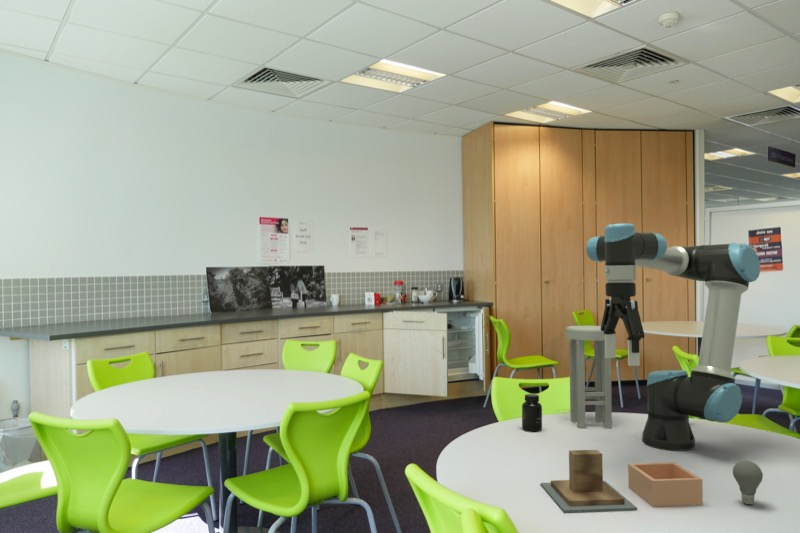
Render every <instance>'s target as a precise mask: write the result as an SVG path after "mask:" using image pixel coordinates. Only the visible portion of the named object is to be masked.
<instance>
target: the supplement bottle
mask: <svg viewBox="0 0 800 533" xmlns="http://www.w3.org/2000/svg"><path fill="white" fill-rule="evenodd" d="M539 395H540V394H535V393H526V394H524V401H525V402H523V403H522V405H521V428H522V430H524V431H525V432H530V433H538V432H541V431H542V430H543V407H542V406H543V405H542V403H540V396H539Z"/></svg>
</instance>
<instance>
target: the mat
mask: <svg viewBox="0 0 800 533" xmlns="http://www.w3.org/2000/svg"><path fill="white" fill-rule="evenodd" d="M603 481H604V482H605V483H606V484H607V485H608V486H610V487H611V488H612V489H613V490H614V491H615V492H617V493H618V494H619V495H620V496H621V497H622V498H624V500H625V504H622V505H593V506H569V505H568V504H567V503H566V502H565V501H564V500H563V498H562V497H561V496H560V495H559V494H558V493H557V492H556V491H555V490H554V488H553V487H552V486H551V482H540V486H541V488H542V489H543V490H544V491H545V493H546V494H547V495H548V496H549V497H550V498H551V499H552V500H553V502H554V503H555V504H556V505H557V506H558V507H559V509H560V510H561V511H562V512H563V513H564V514H569V513H572V514H575V513H598V512H600V513H601V512H605V513H606V512H624V511H625V512H627V511H628V512H629V511H631V512H633V511H638V507H637V506H636V505H634V503H633V502H631V501H630V500H628V499H627V498H626V497H625V496H624V495H623V494H622V493H620V492H619V491H618V490H616V489H615V488H614V487H613V486H612V485H611V484H609V483H608V482H607V481H606V480H603Z"/></svg>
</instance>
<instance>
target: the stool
mask: <svg viewBox="0 0 800 533" xmlns="http://www.w3.org/2000/svg"><path fill="white" fill-rule="evenodd" d="M565 338H566V339H569V340H568V341H569V342H568V343H569V345H568V346H569V404H570V405H569V407H570V408H569V410H570V411H569V412H570V417H569V418H570V422H572V423H577V424H576V425H577V428H578V429H581V430H582V429H586V405H587V406H588V405H589V406H594V408H595V409H594V416H595V419H594V420H595V422H597V423H603V424H602V426H603V428H604V429H607V430H608V429H609V430H610V429H611V430H612V429H613V421H612V419H613V417H612V416H613V411H612V358H605V334H604V332H603V331H601V325H569V326H566V329H565ZM585 341H590V342H591V341H594V342H593V343H594V344H593V345H594V346H593V349H594V354H593V355H594V360H593V361H594V387H593V386H586V379H585V378H586V377H585V376H586V371H585V368H586V367H585V366H586V365H585V359H586V358H585Z"/></svg>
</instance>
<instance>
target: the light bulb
mask: <svg viewBox="0 0 800 533" xmlns="http://www.w3.org/2000/svg"><path fill="white" fill-rule="evenodd" d="M732 475H733V478H734V479H735V482H736V483H737V485H738V488H739V491H740V492H741V502H742V503H744V504H745V503H746V505H749V504H751V505H754V504H755V495H756V493H757V489H758V487H759V486H760V484H761V483H762V482H763V477H764V476H763V475H764V474H763V471H762V469H761V467H760V466H759V465H758V464H757V463H755V462H754V461H751V460H747V459H742V460H739V461H737V462H735V464H734V466H733V467H732Z"/></svg>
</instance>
